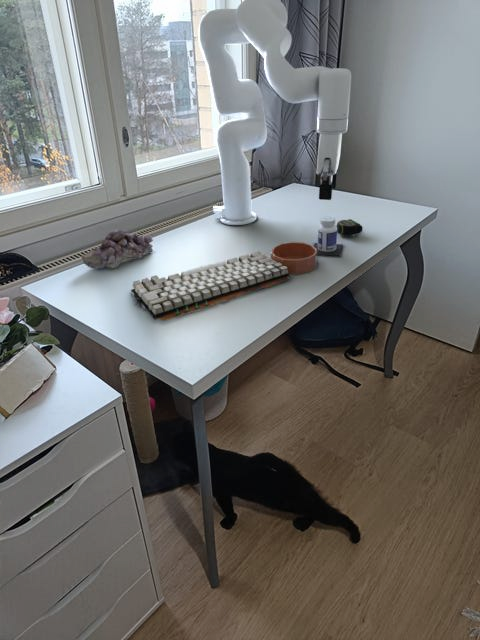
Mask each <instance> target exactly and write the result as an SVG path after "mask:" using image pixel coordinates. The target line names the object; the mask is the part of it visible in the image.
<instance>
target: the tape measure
mask: <svg viewBox="0 0 480 640" xmlns="http://www.w3.org/2000/svg"><path fill="white" fill-rule="evenodd" d="M335 226H336V227H337V234H338V235H342V236H344V237H352V236H356V235H359V234H361V233H362V232H363V228H364V227H363V226H362V225H361V224H360V223H358V222H357V221H356V220H353V219H351V218H349V219H341V220H339V221H337V223H336V224H335Z"/></svg>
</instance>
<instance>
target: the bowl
mask: <svg viewBox="0 0 480 640" xmlns="http://www.w3.org/2000/svg"><path fill="white" fill-rule="evenodd" d="M270 259H272V261H273V260H274V261H276V262H277V263H281V264H282V266H286V267H287V270H288V273H287V274H289V275H301V274H302V275H303V274H306V273H309V272H311V271H313V270H315V269H316V267H317V263H318V255H317V249H316V248H315V247H314V244H309V243H306V242H301V241H300V242H299V241H288V242H282V243H279V244H277V245H275V246H273V247H272V249H271V250H270Z"/></svg>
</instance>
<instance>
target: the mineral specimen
mask: <svg viewBox="0 0 480 640" xmlns="http://www.w3.org/2000/svg"><path fill="white" fill-rule="evenodd" d="M153 241H154V240H153V237H152V236H151V235H146V236H143V235H139V236H138V234H137V233H134V234H132V233H127V231H126V230H124V229H122V228H120V229H119V230H114V231H111V232H109V233H107V235H106V236H105V238H104V239H103V240H102V242H101V244H100V246H97V247H95V248H94V249H91V250H89V251H88V252H86V253H85V254H83V255H81V260H82V262H83V263H82V264H83V265H85V266H87V267H88V268H90V269H92V270H93V269H95V270H96V269H97V268H100V269H102V268H109V269H114V268H115V269H116V268H118V267H119V265H120V264H123V263H127V262H129V261H130V262H131V261H132V260H133V259H137V260H138V259H142V258H143V256H145V255H150V253H153V252H154V250H153V244H151V243H152V242H153Z"/></svg>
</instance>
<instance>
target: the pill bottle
mask: <svg viewBox="0 0 480 640" xmlns="http://www.w3.org/2000/svg"><path fill="white" fill-rule="evenodd" d="M337 242H338V233H337V227H336V218H335V217H333V216H323V217H321V218H320V225H319V226H318V228H317V243H318V250H320V251H322V252H332V251H334V250H336V245H337V244H338V243H337Z"/></svg>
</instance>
